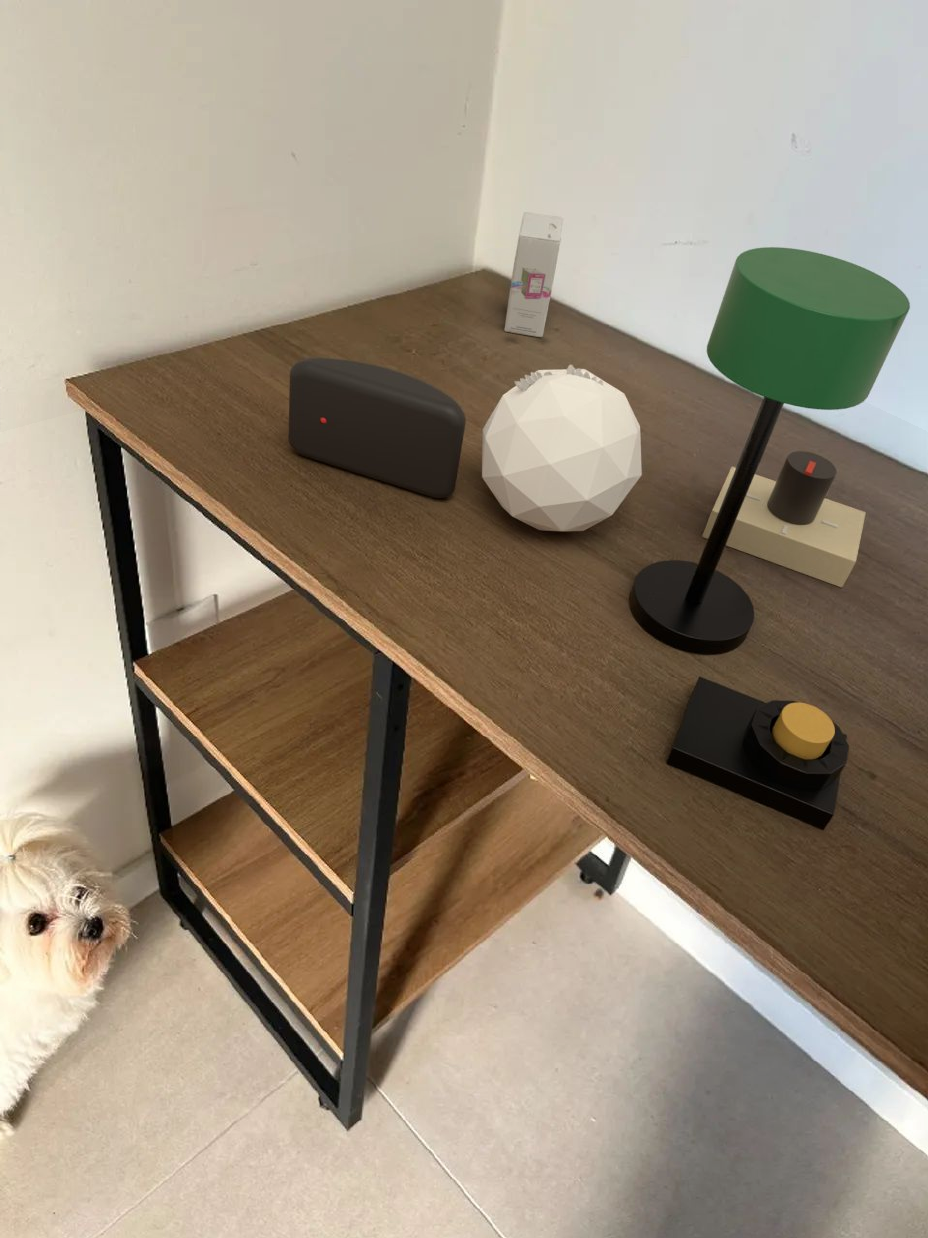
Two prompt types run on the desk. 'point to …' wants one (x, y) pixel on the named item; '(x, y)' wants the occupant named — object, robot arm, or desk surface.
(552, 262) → the ink box
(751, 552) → the dimmer panel
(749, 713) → the button base
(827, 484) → the dimmer knob
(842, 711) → the desk surface
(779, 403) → the desk lamp
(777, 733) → the button
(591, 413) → the geodesic sphere
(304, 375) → the dark grey speaker
